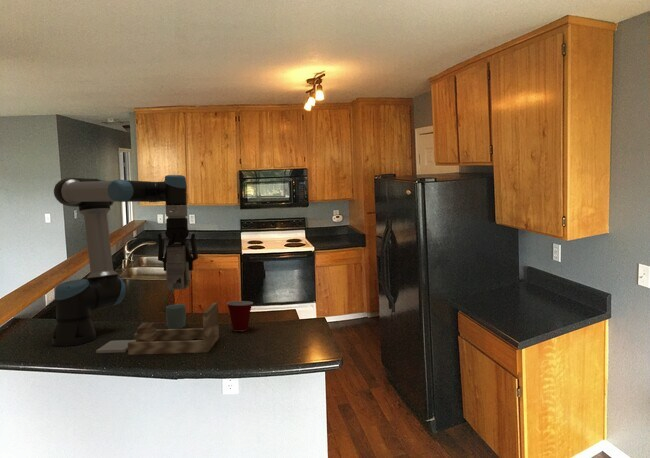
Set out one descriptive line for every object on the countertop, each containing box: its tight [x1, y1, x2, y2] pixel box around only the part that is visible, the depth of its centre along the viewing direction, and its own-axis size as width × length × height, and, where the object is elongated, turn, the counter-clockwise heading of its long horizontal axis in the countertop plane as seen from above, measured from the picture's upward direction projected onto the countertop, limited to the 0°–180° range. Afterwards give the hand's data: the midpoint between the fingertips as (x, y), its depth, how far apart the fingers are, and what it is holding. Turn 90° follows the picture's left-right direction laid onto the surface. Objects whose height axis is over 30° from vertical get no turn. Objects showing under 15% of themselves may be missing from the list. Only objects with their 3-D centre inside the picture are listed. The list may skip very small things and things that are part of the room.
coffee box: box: [165, 242, 191, 291], centre depth 166 cm, size 9×6×16 cm
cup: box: [165, 303, 187, 329], centre depth 190 cm, size 8×8×10 cm
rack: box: [127, 302, 220, 356], centre depth 167 cm, size 28×18×14 cm, turn 92°
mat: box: [95, 339, 136, 354], centre depth 166 cm, size 10×12×1 cm
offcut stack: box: [133, 321, 158, 342], centre depth 166 cm, size 5×10×8 cm, turn 2°
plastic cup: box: [226, 300, 254, 331], centre depth 186 cm, size 11×11×12 cm
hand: (178, 279), depth 166 cm, fingers closed on coffee box, 7 cm apart
